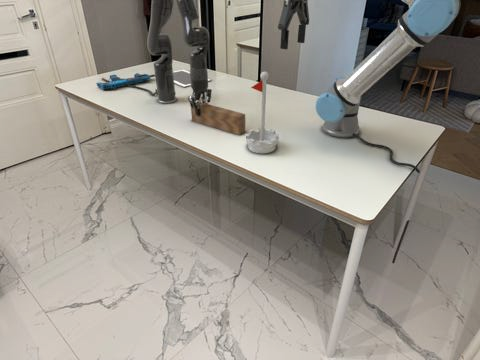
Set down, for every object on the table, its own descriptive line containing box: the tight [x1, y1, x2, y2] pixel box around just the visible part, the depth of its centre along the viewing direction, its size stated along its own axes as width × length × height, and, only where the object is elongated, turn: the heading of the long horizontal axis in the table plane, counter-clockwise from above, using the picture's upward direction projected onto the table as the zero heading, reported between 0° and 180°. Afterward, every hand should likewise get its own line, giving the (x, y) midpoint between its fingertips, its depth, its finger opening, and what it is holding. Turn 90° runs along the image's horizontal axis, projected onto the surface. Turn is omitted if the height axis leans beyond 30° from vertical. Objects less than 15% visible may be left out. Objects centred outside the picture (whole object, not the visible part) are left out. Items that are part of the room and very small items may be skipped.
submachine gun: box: [95, 72, 155, 91], centre depth 209 cm, size 34×4×25 cm
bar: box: [190, 101, 246, 136], centre depth 152 cm, size 27×4×8 cm, turn 55°
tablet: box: [173, 69, 212, 88], centre depth 216 cm, size 32×20×1 cm, turn 41°
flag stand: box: [245, 71, 280, 154], centre depth 128 cm, size 13×13×30 cm
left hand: (201, 113), depth 157 cm, fingers closed on bar, 4 cm apart
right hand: (292, 45), depth 131 cm, fingers open, 13 cm apart
